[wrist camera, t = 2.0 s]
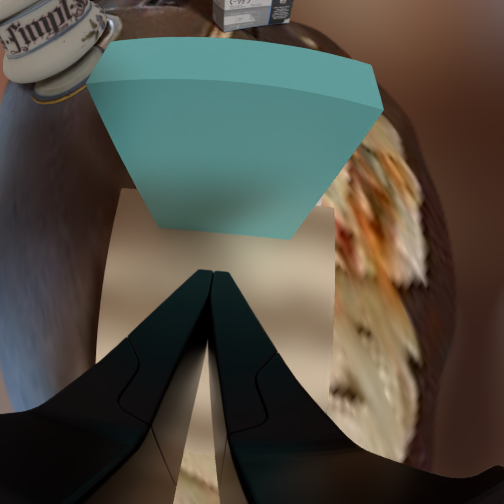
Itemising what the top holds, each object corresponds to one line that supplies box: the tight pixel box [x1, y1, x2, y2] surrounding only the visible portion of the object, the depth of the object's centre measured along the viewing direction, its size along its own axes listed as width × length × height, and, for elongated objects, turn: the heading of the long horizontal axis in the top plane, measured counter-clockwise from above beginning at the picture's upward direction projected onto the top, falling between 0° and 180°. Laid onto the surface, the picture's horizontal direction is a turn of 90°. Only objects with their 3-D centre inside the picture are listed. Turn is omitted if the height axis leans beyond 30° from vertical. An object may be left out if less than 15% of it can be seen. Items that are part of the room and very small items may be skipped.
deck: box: [96, 188, 335, 455], centre depth 18 cm, size 16×14×3 cm
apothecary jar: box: [0, 0, 107, 104], centre depth 15 cm, size 12×12×18 cm
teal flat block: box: [86, 37, 384, 240], centre depth 12 cm, size 2×8×12 cm, turn 86°
